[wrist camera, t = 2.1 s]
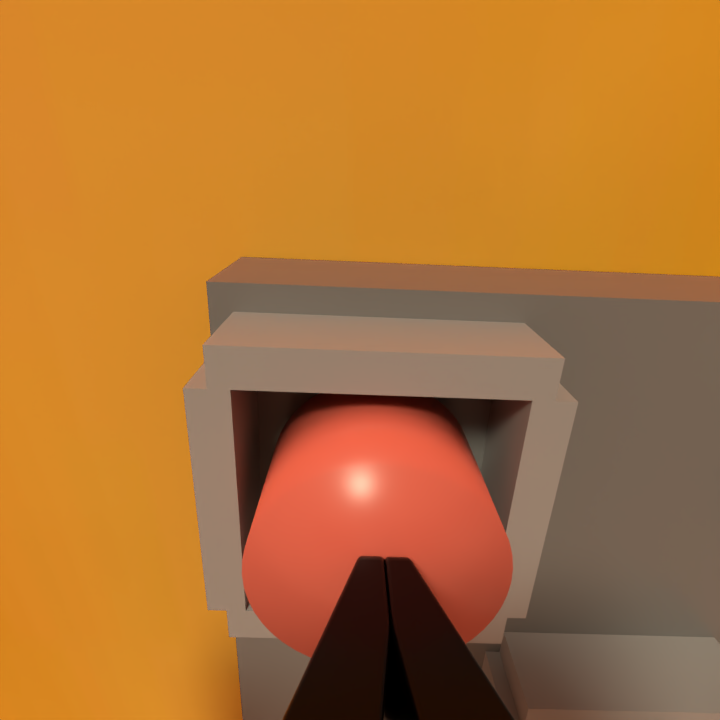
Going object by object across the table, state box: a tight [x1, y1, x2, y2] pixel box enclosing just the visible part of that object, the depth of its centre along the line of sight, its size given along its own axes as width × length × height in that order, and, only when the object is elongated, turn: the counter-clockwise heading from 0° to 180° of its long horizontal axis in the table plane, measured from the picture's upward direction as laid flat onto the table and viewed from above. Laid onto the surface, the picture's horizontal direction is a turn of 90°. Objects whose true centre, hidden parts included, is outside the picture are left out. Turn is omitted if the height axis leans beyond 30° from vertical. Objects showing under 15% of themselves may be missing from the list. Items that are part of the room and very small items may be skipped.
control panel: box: [183, 257, 720, 720], centre depth 13 cm, size 21×17×5 cm
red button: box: [242, 393, 513, 658], centre depth 9 cm, size 4×4×3 cm
